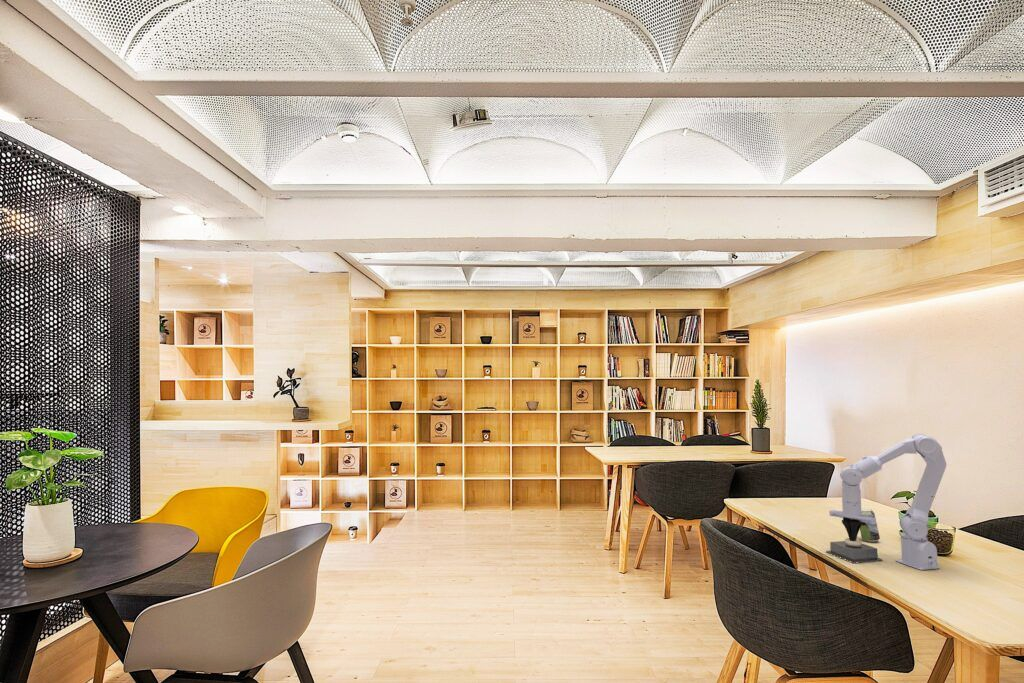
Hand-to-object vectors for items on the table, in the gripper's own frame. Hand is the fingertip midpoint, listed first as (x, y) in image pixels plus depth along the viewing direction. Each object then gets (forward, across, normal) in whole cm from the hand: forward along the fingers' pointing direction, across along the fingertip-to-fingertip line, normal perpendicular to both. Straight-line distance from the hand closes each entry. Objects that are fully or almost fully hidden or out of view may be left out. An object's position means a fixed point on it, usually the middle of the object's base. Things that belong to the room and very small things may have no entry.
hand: (853, 540), depth 192 cm
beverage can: (+6, +6, -26) cm, 27 cm away
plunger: (+5, 0, 0) cm, 5 cm away
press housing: (+6, 0, 0) cm, 6 cm away
